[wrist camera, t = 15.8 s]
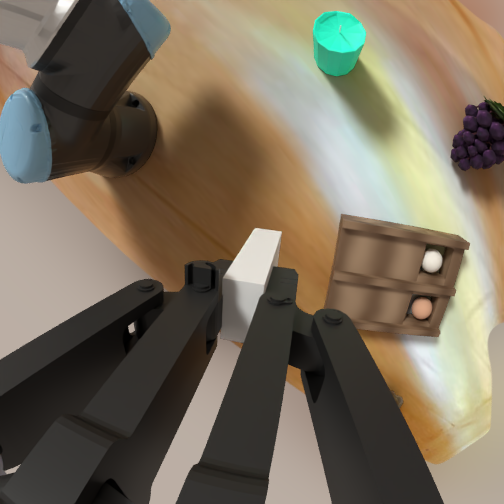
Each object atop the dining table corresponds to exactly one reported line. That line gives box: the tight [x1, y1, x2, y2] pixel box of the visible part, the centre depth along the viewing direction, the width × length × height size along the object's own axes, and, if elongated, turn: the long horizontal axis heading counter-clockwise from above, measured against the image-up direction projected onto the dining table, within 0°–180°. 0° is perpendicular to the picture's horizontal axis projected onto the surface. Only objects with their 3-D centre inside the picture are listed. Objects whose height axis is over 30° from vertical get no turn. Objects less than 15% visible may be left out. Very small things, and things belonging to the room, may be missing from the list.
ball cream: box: [421, 248, 442, 272], centre depth 39 cm, size 4×4×4 cm
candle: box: [313, 11, 366, 76], centre depth 29 cm, size 6×6×12 cm
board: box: [324, 214, 470, 337], centre depth 41 cm, size 20×16×4 cm
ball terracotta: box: [412, 297, 432, 319], centre depth 41 cm, size 4×4×4 cm
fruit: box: [451, 96, 504, 171], centre depth 28 cm, size 10×11×15 cm
